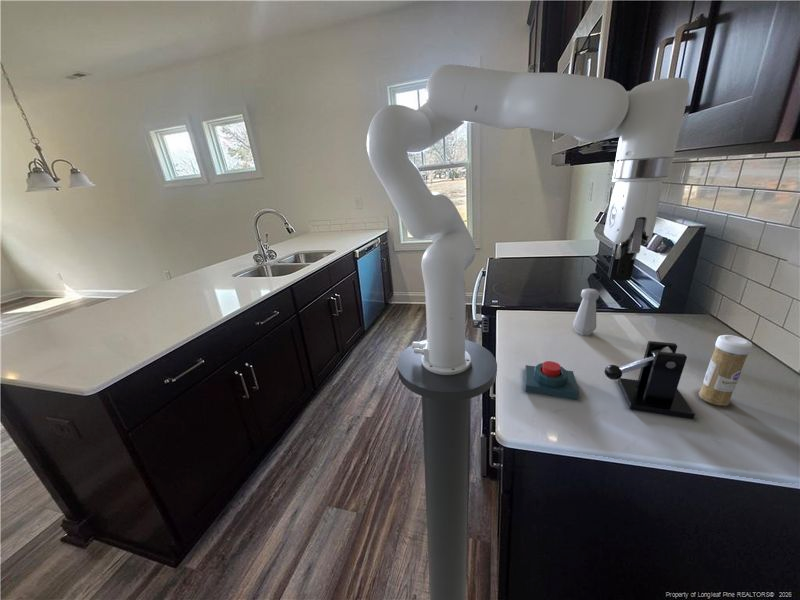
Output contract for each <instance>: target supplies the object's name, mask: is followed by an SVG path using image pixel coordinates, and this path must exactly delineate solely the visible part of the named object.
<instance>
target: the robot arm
mask: <svg viewBox="0 0 800 600" xmlns="http://www.w3.org/2000/svg"><path fill="white" fill-rule="evenodd" d="M690 89H691V87H690V81H689V80H688V79H686V78H683V77H669V78H668V77H667V78H660V79H659V78H658V79H656V80H650V81H646V82H643V83H640V84H638V85H636V86H634V87H633V88H632V89H630V90H626V89H625V87H624V86H623V85H622V84H620V83H619V82H617V81H615V80H613V79H609V78H604V77H597V76H590V75H583V74H582V75H581V74H573V73H566V72H565V73H564V72H530V71H526V72H525V71H523V72H520V71H519V72H517V71H508V70H500V69H490V68H484V67H478V66H477V67H476V66H470V65H469V66H468V65H461V64H450V63H449V64H443V65H440V66H438V67H437V68H435V69H434V70H433V71H432V72H431V73H430V75H429V77H428V78H427V81H426V84H425V100H426V101H425V103H423V105H421V106H420V107H418V108H417V109H414V108H412V107H409V106H406V105H403V104H389V105H385V106H383V107H382V108H379V110H378V111H377V112H376V113H375V114H374V116H373V118H372V119H371V121H370V124H369V127H368V130H367V135H366V151H367V155H368V159H369V162H370V165H371V167H372V169H373V172H374V173H375V175H376V176H377V177H376V178H378V180H379V182H380V184H381V185H382V186H383V188H384V190H385V192H386V194H387V195H388V199H389V201H391V204H392V205H393V207H394V210H395V211H396V212H397V214H398V216H399V218H400V220H401V222H402V223H403V226H404V227H405V229H406V230H407V232H408V234H409V235H410V236H412V237H413V238H415V239H417V240H426V239H430V240H431V241H432V243H431V244H430V245H429V246H428V247H427V248H426V249H425V251H424V253H423V255H422V257H421V266H420V269H421V274H422V275H421V276H422V279H423V285H424V296H425V316H426V317H425V318H426V319H425V321H426V339H427V342H424V343H420V342H419V341H412V343H411V345H412V349H414V353H417V354H422V364H423V366H424V367H425V368H426V369H427V370H429V371H431V372H433V373H436V374H441V375H454V374H459V373H462V372H464V371H465V370H467V369H468V368H469V367H470V365H471V356H470V355H469V353H468V352H466V351H465V340H466V325H467V324H466V323H467V322H466V320H467V319H466V317H467V311H466V310H467V292H466V291H467V290H466V284H465V271H466V270H467V269H468V268H469V267H470V266H471V265H472V263H473V262H474V261H475V258H476V254H477V248H476V243H475V241H474V239H473V236H472V235H471V233H470V231H469V229H468V227H467V225H466V224H465V222H464V219H463V218H462V215H461V214H460V212H459V210H458V208H457V207H456V204H454V202H453V201H452V200H451V199H450V198H449V197H448V196H447V195H445V194H443V193H441V192H432V190H431V189H430V188H429V186H428V184H427V183H426V181H425V179H424V177H423V174H422V173H421V171H420V169H419V168H418V166H417V165H416V164H415V163H414V162H413V161H412V159H411V158H410V155H409V153H410V154H420V153H422V152H425V151H426V150H428V149H430V148H432V147H433V146H435V145H436V144H437V143H439V142H440V141H442V140H443V139H444V138H446V137H448V135H450V134H451V133H453V132H455V130H457V129H459V128H460V127H461V126H462V125H464V123H470V124H475V125H481V126H486V127H491V128H494V129H495V128H496V129H501V130H513V129H530V130H531V129H532V130H538V131H539V130H540V131H546V132H552V133H557V134H562V135H566V136H567V135H568V136H572V137H573V138H575V139H576V140H577V141H579V142H582V143H587V144H588V143H597V142H602V141H605V140H609V139H614V138H618V143H617V150H616V155H615V161H614V167H613V171H612V178H611V182H612V183H615V184H614V187H613V189H612V193H611V198H610V202H609V205H608V209H607V214H606V219H605V224H604V229H603V235H604V236H605V237H606V238H607V239H608V240H610V242H612V243H613V245H612V251H611V258H610V262H609V268H608V272H607V277H608V278H609V280H611V281H624V282H628V281H630V280H631V279H632V275H633V270H634V265H635V261H636V258H637V255H638V254H640V252H641V245H647V244H649V243H650V242H651V240H652V237H653V235H654V230H655V227H656V221H657V217H658V213H659V207H660V201H661V195H662V186H663V181H668V180H669V178H670V174H671V169H672V165H673V162H674V157H675V153H676V150H677V146H678V145H677V144H678V140H679V136H680V132H681V127H682V123H683V120H684V115H685V110H686V106H687V104H688V103H687V102H688V98H689V94H690Z"/></svg>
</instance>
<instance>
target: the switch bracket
mask: <svg viewBox="0 0 800 600" xmlns="http://www.w3.org/2000/svg"><path fill="white" fill-rule="evenodd" d="M667 346H668V347H669V348H670V349H671V351H672V352H673V353H668V352H659V351H656V353H655V356H654V355H653V354H652V351H654V350H658V349H661V348H664V347H667ZM677 349H678V344H677V343H674V342H665V341H653V340H648V341H647V343H646V348H645V352H644V355H643V359H645V358H648V357H652V356H654V360H653V364H652V365H649V366H646V367H642V368H640V371H639V375H638V378H637V379H631V378H624V377H623V378H622V377H621V378H619V379H617V384H618V386H619V388H620V391H621V393H622V395H623V397H624V400H625V402H626V404H627V406H628V409H629V410H632V411H638V412H645V413H651V414H656V415H663V416H670V417H676V418H682V419H688V420H689V419H690V420H695V419H694V418H695V417H696V413H695V412H694V410H693V409H692V407H691V406H690V405H689V403H688V402H687V401H686V399H685V398H684V396H683V395H682V394H681V392H680V391H679V389H678V387H679V383H680V380H681V377H682V374H683V371H684V368H685V365H686V361H687V358H688V356H687V355H686V354H685V353H678V352H677ZM676 352H677V353H676Z"/></svg>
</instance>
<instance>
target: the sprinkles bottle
mask: <svg viewBox="0 0 800 600" xmlns="http://www.w3.org/2000/svg"><path fill="white" fill-rule="evenodd" d="M714 345H715V348H714V351H713V353H712V356H711V358H710V361H709V364H708V366H707V370H706V372H705V375H704V378H703V382H702V386H701V388H700V390H699V392H698V396H699V398H700V399H702V400H703V401H705V402H707V403H709V404H710V405H714V406H719V407H720V406H721V407H726V406H729V405H730V402H731V398H732V395H733V392H734V391H735V389H736V387H737V384H738V381H739V379H740V377H741V374H742V370H743V368H744V365H745V362H746V361H747V360H746V359H747V357H748V356H749V354H751V351H752V348H753V343H752V342H751V341H750V340H748V339H746V338H743V337H742V336H741V337H740V336H737V335H732V334H722V335H719V336H718V337H717V339H716V341H715V344H714Z"/></svg>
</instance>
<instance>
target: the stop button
mask: <svg viewBox="0 0 800 600" xmlns="http://www.w3.org/2000/svg"><path fill="white" fill-rule="evenodd" d="M542 363H543V366H542V372H543V374H545V375H547V376H551V377H558V376H559V375H560V371H561V367H562V366H561V364H559V363H558V362H555V361H551V360H548V361H547V360H546V361H544V362H542Z"/></svg>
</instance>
